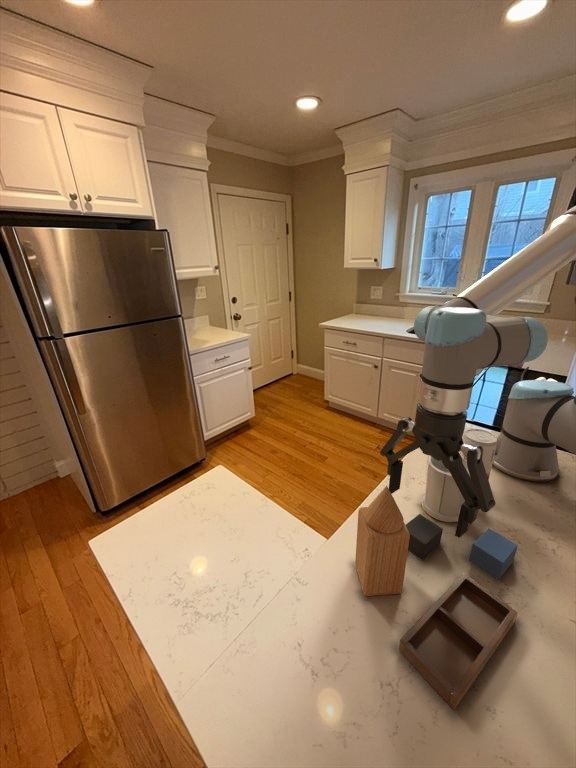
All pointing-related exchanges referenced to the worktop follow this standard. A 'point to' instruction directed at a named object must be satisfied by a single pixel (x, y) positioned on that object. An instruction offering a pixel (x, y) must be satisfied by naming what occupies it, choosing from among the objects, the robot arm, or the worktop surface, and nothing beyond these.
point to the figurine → (545, 379)
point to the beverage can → (482, 445)
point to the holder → (457, 637)
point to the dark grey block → (423, 536)
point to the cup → (442, 492)
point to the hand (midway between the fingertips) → (424, 510)
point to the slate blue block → (493, 553)
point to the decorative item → (381, 546)
